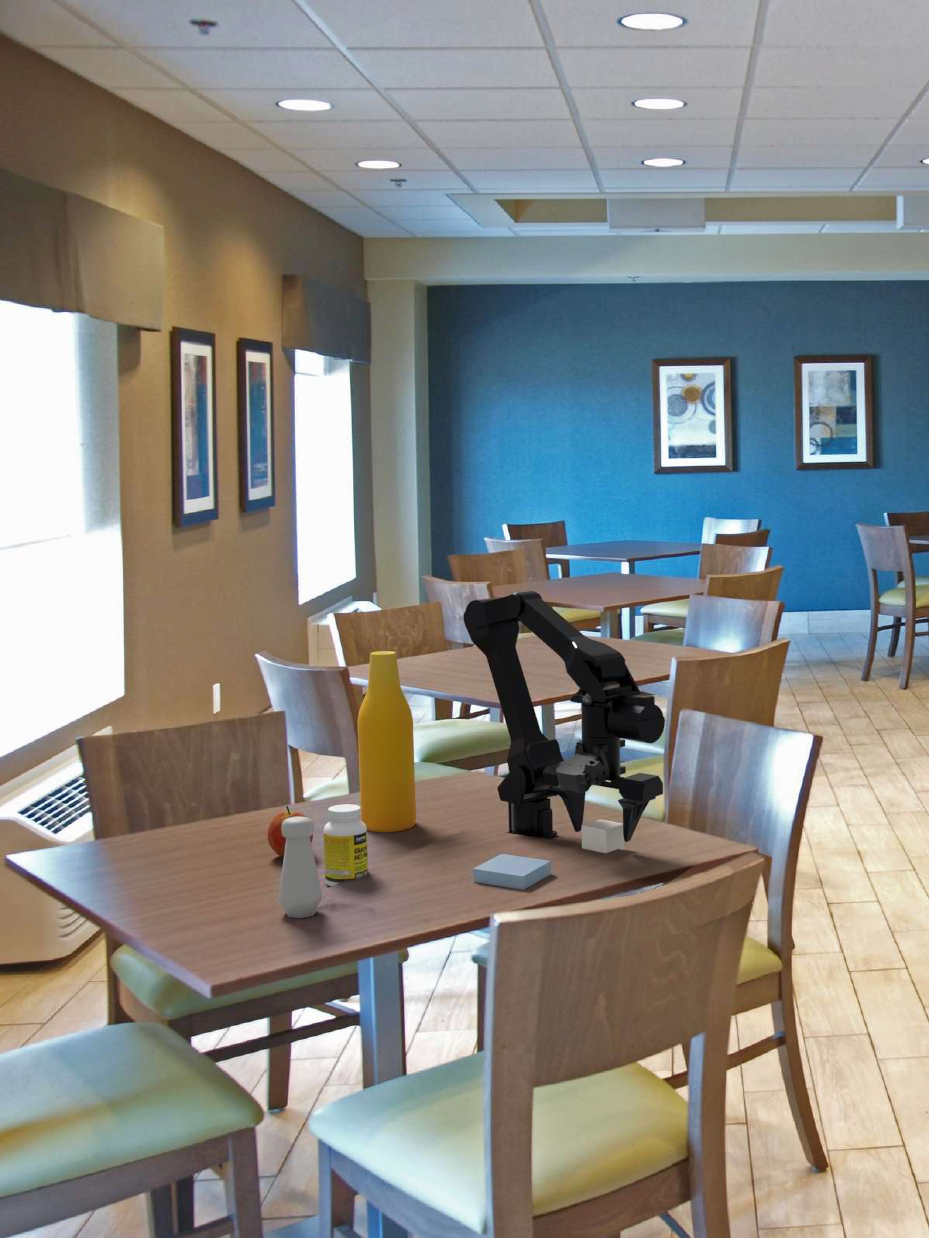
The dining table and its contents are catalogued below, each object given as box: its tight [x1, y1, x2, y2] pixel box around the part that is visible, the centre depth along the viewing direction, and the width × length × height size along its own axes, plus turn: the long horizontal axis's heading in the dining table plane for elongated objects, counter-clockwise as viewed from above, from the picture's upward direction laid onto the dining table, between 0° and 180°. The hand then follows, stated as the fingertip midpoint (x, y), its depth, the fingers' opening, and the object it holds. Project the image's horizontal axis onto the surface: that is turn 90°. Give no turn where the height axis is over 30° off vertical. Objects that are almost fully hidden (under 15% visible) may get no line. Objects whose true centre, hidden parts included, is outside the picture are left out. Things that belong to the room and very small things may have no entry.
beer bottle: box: [357, 650, 417, 833], centre depth 227 cm, size 9×9×29 cm
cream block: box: [581, 818, 625, 854], centre depth 207 cm, size 4×4×5 cm
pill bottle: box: [323, 803, 369, 887], centre depth 197 cm, size 6×6×11 cm
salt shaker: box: [278, 816, 323, 919], centre depth 184 cm, size 6×6×13 cm
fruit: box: [267, 805, 314, 858], centre depth 211 cm, size 7×7×8 cm
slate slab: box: [472, 853, 552, 890], centre depth 193 cm, size 8×8×2 cm
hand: (602, 836), depth 207 cm, fingers open, 9 cm apart
